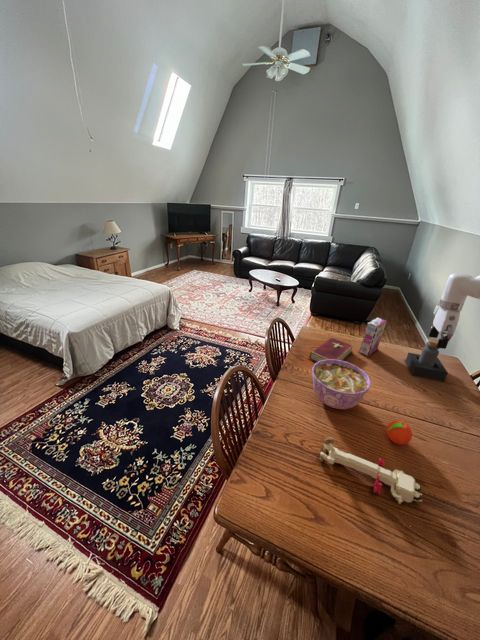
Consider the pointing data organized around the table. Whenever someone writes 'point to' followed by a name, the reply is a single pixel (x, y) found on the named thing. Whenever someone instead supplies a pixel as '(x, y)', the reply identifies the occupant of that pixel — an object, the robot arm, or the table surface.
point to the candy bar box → (372, 336)
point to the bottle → (429, 353)
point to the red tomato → (399, 432)
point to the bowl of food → (339, 383)
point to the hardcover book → (331, 350)
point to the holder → (426, 368)
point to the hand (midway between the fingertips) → (436, 342)
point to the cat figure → (375, 473)
